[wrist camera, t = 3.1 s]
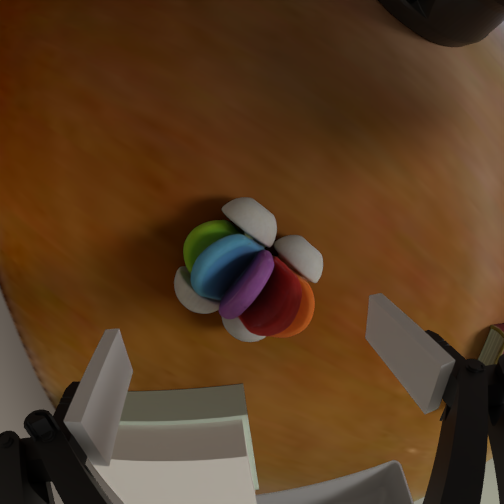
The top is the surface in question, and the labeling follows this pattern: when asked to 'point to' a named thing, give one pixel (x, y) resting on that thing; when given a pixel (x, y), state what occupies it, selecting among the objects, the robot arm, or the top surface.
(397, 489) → the light grey storage bin
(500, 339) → the hardcover book
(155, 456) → the grey square box
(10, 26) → the top surface
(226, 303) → the chunky wheeled toy
